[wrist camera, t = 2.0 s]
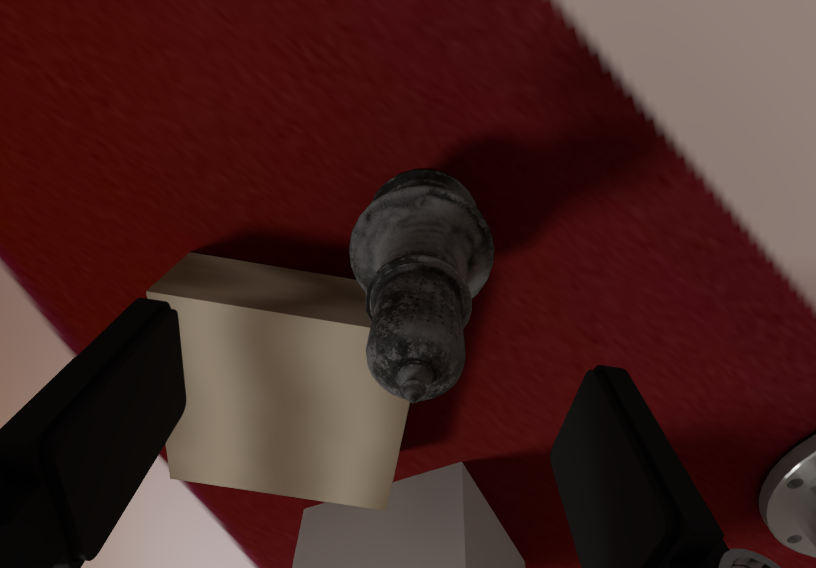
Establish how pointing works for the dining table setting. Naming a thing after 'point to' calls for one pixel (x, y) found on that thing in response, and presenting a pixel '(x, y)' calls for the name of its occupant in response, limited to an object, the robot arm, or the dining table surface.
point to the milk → (410, 529)
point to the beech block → (279, 384)
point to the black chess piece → (420, 280)
